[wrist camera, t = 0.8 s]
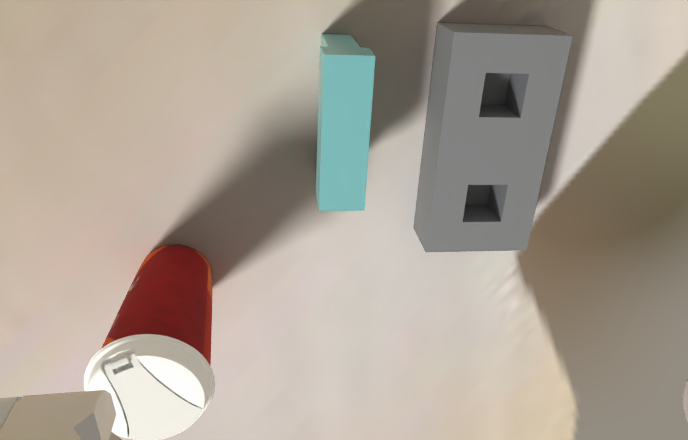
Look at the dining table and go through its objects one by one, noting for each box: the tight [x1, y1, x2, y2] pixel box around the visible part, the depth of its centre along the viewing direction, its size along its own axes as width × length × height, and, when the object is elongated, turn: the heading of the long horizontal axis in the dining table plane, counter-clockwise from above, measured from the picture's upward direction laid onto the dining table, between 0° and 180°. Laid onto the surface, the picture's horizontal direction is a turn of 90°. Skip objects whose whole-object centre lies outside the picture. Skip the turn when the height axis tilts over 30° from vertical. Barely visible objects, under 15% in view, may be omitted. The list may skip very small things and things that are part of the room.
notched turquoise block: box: [316, 34, 375, 211], centre depth 39 cm, size 10×3×7 cm, turn 177°
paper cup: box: [84, 245, 215, 440], centre depth 41 cm, size 8×8×14 cm
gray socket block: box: [414, 23, 573, 252], centre depth 43 cm, size 16×8×4 cm, turn 177°
